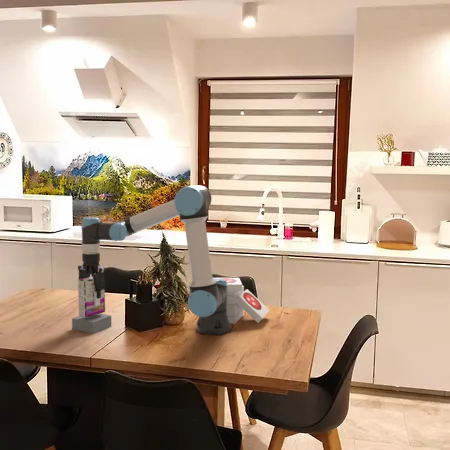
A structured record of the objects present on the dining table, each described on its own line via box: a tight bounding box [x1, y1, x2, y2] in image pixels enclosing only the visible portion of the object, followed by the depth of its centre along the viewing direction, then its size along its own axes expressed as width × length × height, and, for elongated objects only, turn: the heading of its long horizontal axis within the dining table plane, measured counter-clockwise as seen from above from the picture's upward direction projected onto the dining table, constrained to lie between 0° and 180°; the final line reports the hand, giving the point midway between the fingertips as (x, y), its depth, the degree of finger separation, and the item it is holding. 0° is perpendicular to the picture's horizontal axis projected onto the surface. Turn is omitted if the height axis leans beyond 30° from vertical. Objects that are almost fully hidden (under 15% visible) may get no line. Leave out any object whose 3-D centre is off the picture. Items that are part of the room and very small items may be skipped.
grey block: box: [71, 313, 112, 334], centre depth 236 cm, size 12×12×5 cm
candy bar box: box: [77, 276, 106, 317], centre depth 235 cm, size 11×5×16 cm, turn 143°
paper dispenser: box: [216, 277, 270, 325], centre depth 253 cm, size 19×30×18 cm, turn 73°
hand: (91, 304), depth 235 cm, fingers closed on candy bar box, 5 cm apart
